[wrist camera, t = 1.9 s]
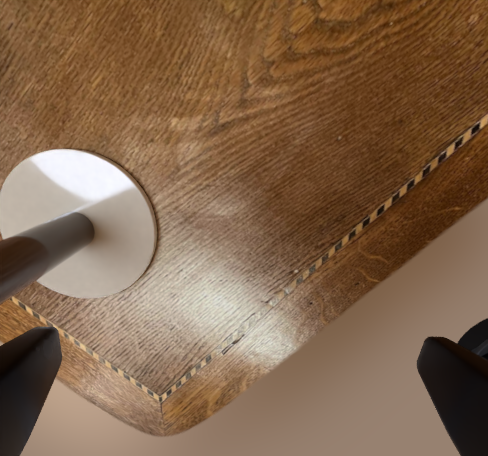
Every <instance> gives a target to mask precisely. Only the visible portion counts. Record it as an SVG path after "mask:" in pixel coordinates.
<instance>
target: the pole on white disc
mask: <svg viewBox="0 0 488 456" xmlns="http://www.w3.org/2000/svg"><path fill="white" fill-rule="evenodd" d="M0 232H1V235H2V238H3V240H1V241H0V305H1V304H3V303H4V302H6V301H7V300H9V299H10V298H12V297H13V296H14V295H16V294H17V293H19V292H20V291H22V290H23V289H25V288H26V287H28V286H29V285H31V284H32V283H34V282H35V281H37V282H39V283H40V284H42V285H43V286H45V287H47V288H49V289H51V290H53V291H55V292H58V293H60V294H64V295H67V296H71V297H77V298H87V299H91V298H102V297H107V296H110V295H114V294H117V293H119V292H121V291H123V290H125V289H126V288H128V287H129V286H131V285H132V284H133V283H135V282H136V281H137V280H138V279H139V278H140V277H141V275H142V274H143V273H144V272H145V270H146V269H147V267H148V266H149V264H150V262H151V260H152V258H153V255H154V252H155V248H156V242H157V225H156V219H155V215H154V212H153V208H152V206H151V204H150V202H149V199H148V197H147V196H146V194H145V192H144V191H143V189H142V188H141V187H140V185H139V184H138V183H137V181H136V180H135V179H134V178H133V177H132V176H131V175H130V174H129V173H128V172H127V171H125V170H124V169H123V168H122V167H120V166H119V165H118V164H116V163H114V162H113V161H111V160H110V159H107V158H105V157H103V156H101V155H99V154H96V153H93V152H90V151H85V150H80V149H69V148H65V149H52V150H47V151H43V152H40V153H37V154H35V155H32V156H30V157H29V158H27V159H25V160H23V161H22V162H21V163H20V164H19V165H17V166H16V167H15V168H14V169H13V171H12V172H11V173H10V174H9V175H8V177H7V179H6V180H5V182H4V184H3V186H2V189H1V191H0Z"/></svg>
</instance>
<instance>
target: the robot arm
mask: <svg viewBox="0 0 488 456" xmlns="http://www.w3.org/2000/svg"><path fill="white" fill-rule="evenodd" d="M61 361H62V353H61V346H60V339H59V333H58V330H57V329H56V328H55V327H35V328H33V329H31V330H29V331H27V332H25V333H24V334H22V335H20V336H18V337H16V338H14V339H12V340H11V341H9V342H7V343H5V344H3V345H1V346H0V456H20V454H21V452H22V450H23V448H24V446H25V445H26V443H27V441H28V439H29V437H30V434H31V432H32V430H33V428H34V426H35V423H36V421H37V419H38V416H39V414H40V412H41V410H42V407H43V405H44V402H45V400H46V398H47V395H48V393H49V391H50V389H51V386H52V384H53V382H54V379H55V377H56V375H57V372H58V370H59V368H60V365H61ZM417 369H418V372H419V374H420V376H421V378H422V380H423V382H424V384H425V387H426V389H427V391H428V393H429V395H430V397H431V399H432V401H433V403H434V405H435V408H436V410H437V412H438V414H439V416H440V418H441V420H442V422H443V424H444V426H445V428H446V430H447V432H448V434H449V436H450V438H451V440H452V441H453V443H454V445H455V447H456V448H457V450H458V452H459V454H460V455H461V456H488V353H486V354H484V355H482V356H480V355H478V354H476V353H474V352H472V351H470V350H468V349H466V348H464V347H462V346H461V345H459V344H457V343H455V342H453V341H451V340H449V339H447V338H444V337H428V338H427V339H426V340H425V341H424V344H423V346H422V349H421V352H420V355H419V357H418V360H417Z"/></svg>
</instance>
